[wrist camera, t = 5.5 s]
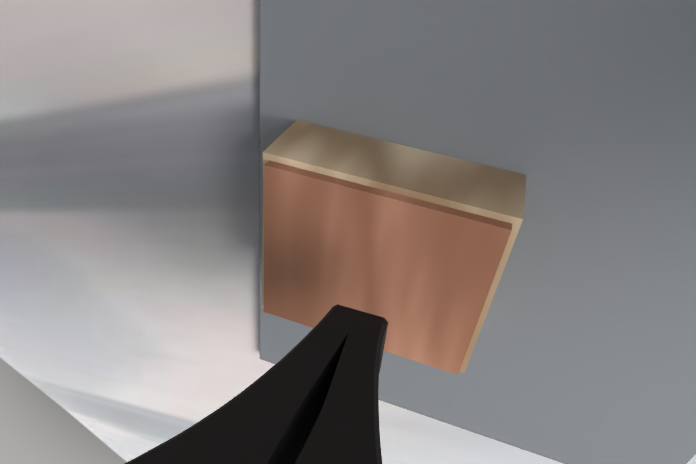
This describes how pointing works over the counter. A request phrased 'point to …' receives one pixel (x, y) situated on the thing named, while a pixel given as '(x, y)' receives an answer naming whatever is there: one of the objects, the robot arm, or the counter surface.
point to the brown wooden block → (386, 238)
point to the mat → (530, 200)
